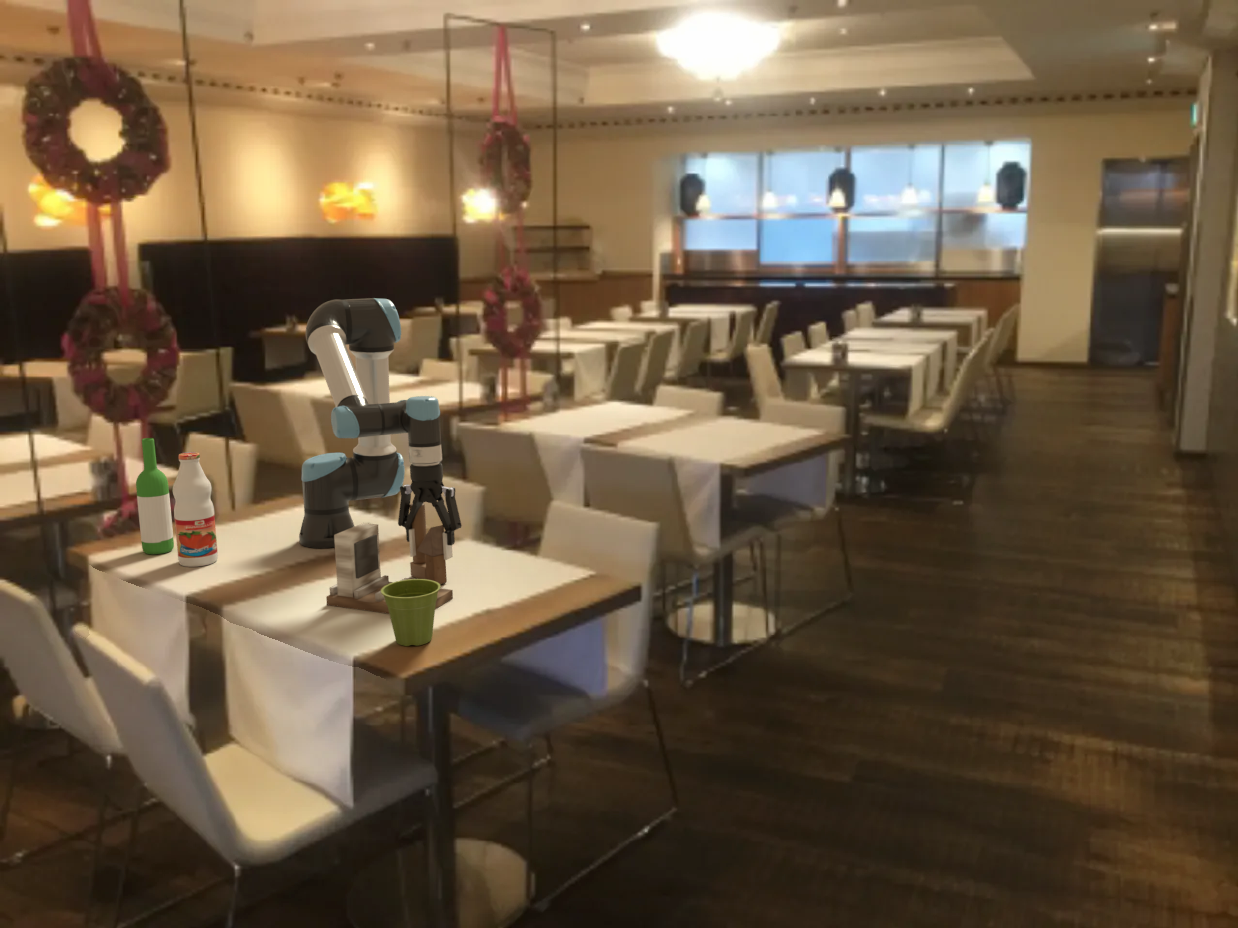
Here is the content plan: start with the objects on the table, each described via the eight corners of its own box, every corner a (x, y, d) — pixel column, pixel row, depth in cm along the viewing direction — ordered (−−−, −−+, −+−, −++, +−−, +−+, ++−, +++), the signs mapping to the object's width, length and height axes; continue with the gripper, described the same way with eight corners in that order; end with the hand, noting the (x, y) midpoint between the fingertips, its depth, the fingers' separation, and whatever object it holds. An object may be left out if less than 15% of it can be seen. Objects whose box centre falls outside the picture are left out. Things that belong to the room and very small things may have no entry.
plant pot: (400, 628, 228) (398, 576, 225) (452, 633, 224) (450, 581, 222) (372, 648, 217) (369, 594, 214) (426, 654, 213) (424, 599, 211)
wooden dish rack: (363, 586, 255) (359, 520, 252) (452, 598, 246) (450, 530, 243) (326, 604, 242) (322, 535, 239) (419, 618, 234) (416, 546, 230)
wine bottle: (180, 550, 286) (169, 438, 280) (151, 557, 280) (140, 442, 274) (165, 545, 291) (154, 435, 285) (136, 551, 285) (125, 439, 279)
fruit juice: (214, 554, 282) (205, 448, 276) (221, 563, 274) (212, 455, 268) (176, 560, 277) (166, 452, 272) (181, 569, 269) (171, 458, 264)
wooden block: (434, 586, 255) (429, 511, 251) (410, 576, 263) (405, 504, 259) (447, 582, 257) (443, 508, 253) (423, 573, 265) (419, 501, 261)
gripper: (378, 463, 254) (384, 557, 258) (457, 468, 246) (462, 564, 251) (396, 458, 261) (401, 549, 265) (474, 462, 253) (478, 556, 257)
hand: (431, 556), depth 258 cm, fingers open, 8 cm apart
